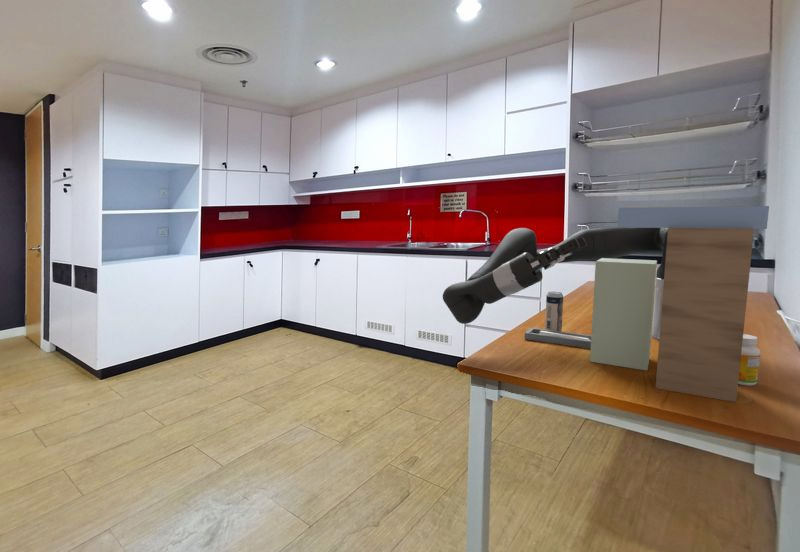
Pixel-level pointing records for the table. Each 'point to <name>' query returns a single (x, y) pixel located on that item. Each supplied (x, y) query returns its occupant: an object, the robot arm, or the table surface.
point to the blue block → (695, 217)
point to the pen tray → (558, 338)
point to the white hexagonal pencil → (562, 335)
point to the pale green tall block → (623, 312)
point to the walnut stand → (704, 311)
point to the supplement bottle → (749, 361)
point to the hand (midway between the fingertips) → (581, 241)
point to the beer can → (554, 311)
